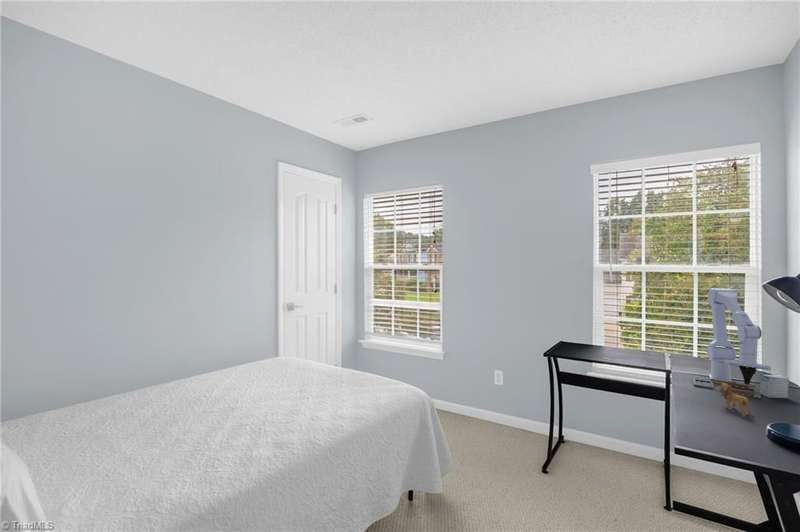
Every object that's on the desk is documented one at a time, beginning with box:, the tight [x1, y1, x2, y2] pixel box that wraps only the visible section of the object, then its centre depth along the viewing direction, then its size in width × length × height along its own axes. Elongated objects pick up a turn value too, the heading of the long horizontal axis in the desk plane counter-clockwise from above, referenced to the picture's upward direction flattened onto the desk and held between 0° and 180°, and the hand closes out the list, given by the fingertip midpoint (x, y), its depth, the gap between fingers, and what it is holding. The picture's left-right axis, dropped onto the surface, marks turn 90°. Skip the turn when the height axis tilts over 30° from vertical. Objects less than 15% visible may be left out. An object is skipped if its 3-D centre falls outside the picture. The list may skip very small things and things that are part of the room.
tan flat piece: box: [713, 379, 761, 399], centre depth 171 cm, size 14×14×2 cm
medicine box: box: [759, 374, 790, 399], centre depth 164 cm, size 8×4×9 cm, turn 88°
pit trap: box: [692, 378, 715, 390], centre depth 177 cm, size 11×7×1 cm, turn 145°
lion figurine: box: [715, 383, 756, 419], centre depth 145 cm, size 15×5×9 cm, turn 1°
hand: (746, 383), depth 169 cm, fingers closed
